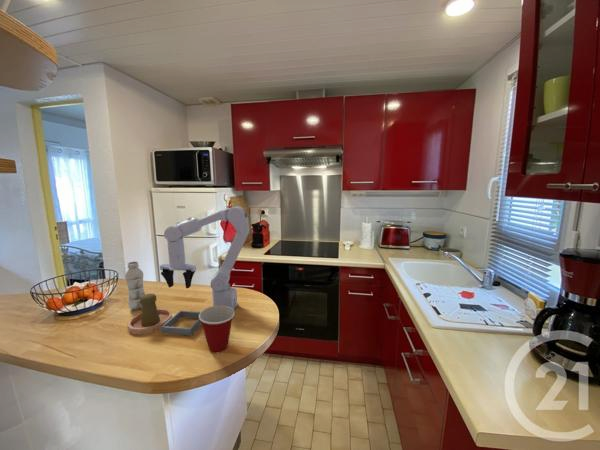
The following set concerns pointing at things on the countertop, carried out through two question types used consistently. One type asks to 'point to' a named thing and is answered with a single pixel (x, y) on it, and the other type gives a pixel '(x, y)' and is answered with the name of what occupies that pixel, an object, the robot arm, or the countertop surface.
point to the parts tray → (179, 330)
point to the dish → (136, 327)
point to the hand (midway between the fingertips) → (179, 287)
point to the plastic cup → (217, 326)
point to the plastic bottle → (134, 285)
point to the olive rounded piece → (149, 310)
